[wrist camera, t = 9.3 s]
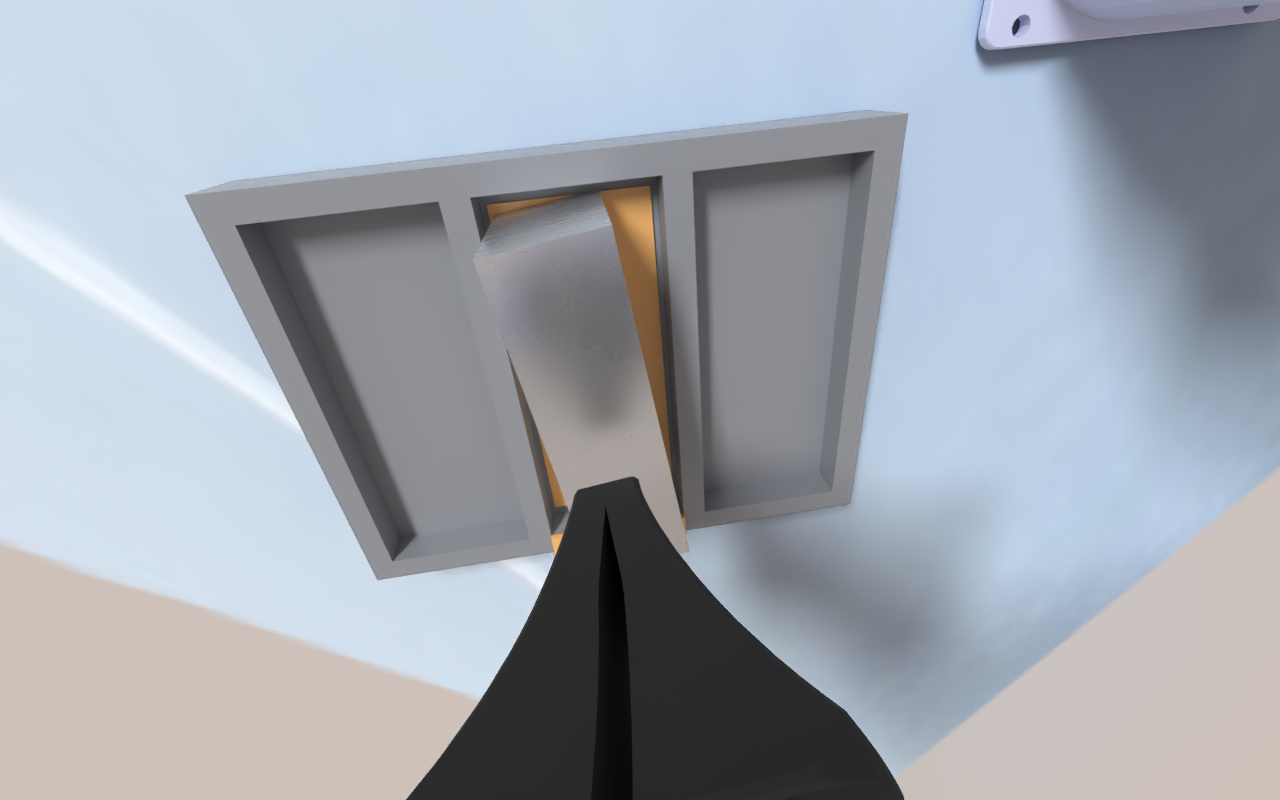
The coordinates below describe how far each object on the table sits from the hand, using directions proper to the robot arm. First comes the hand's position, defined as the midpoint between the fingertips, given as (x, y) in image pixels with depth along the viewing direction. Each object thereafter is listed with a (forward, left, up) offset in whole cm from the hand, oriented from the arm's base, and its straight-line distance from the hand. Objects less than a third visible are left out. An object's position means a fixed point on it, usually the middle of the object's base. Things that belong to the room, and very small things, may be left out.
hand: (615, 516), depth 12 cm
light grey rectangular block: (0, 0, -7) cm, 7 cm away
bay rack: (0, 0, -8) cm, 8 cm away
